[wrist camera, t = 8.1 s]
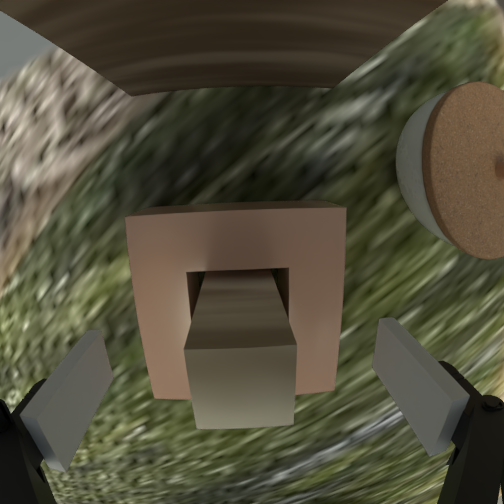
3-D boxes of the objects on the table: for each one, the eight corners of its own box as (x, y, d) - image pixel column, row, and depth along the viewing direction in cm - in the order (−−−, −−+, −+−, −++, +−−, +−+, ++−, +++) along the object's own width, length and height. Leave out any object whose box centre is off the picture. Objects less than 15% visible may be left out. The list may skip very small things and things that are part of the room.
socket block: (318, 353, 25) (334, 390, 20) (167, 360, 24) (154, 398, 19) (323, 200, 22) (346, 207, 17) (148, 207, 22) (124, 216, 17)
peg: (267, 311, 24) (293, 424, 12) (212, 313, 24) (196, 429, 12) (266, 258, 23) (297, 344, 11) (208, 261, 23) (183, 349, 11)
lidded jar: (385, 250, 23) (458, 292, 14) (356, 107, 21) (426, 74, 11) (484, 219, 23) (562, 242, 14) (464, 97, 20) (543, 80, 11)
